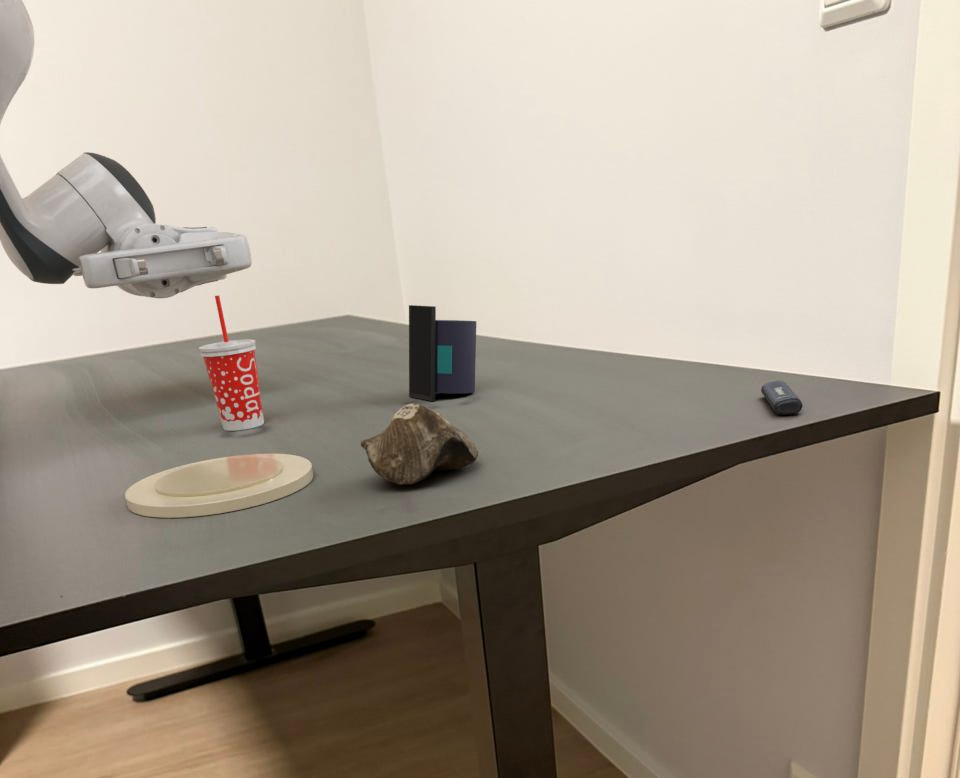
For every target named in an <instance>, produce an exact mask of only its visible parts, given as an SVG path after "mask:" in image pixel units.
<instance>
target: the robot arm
mask: <svg viewBox="0 0 960 778" xmlns="http://www.w3.org/2000/svg"><path fill="white" fill-rule="evenodd" d="M34 52H35V30H34V26H33V22H32V19H31V17H30V14H29V13H28V9H27V7H26V5H25V3H24V2H23V0H0V125H1V124H2V121H3V120H4V119H3V118H4V116H5V114H6V112H7V111H8V108H9V106H10V104H11V102H12V100H13V99H14V97H15V96H16V94H17V92H18V91H19V89H20V88H21V86H22V85H23V83H24V82H25V80H26V78H27V75H28V73H29V71H30V69H31V65H32V61H33V57H34ZM156 219H157V218H156V213H155V208H154V205H153V203H152V201H151V200H150V198H149V196H148V195H147V193H146V192H145V190H144V189H143V187H142V186H141V184H140V183H139V182H138V180H136V178H135V176H133V175H132V174H131V173H130V171H129V170H128V169H127V168H126V167H124V166H123V165H122V164H120V163H119V162H118V161H116V160H115V159H112V158H110V157H108V156H105V155H103V154H100V153H95V152H89V151H88V152H83V153H82V154H81V155H79V156H78V157H76V158H75V159H74V160H72V161H71V162H70V163H68V164H67V165H66V166H64V167H62V169H61V170H59V171H58V172H57V173H56V174H55V175H53V176H52V177H51V178H49V179H48V180H47V181H45V182H43V184H41V185H40V186H38V187H37V188H36V189H35V190H34V191H32V192H31V193H29V194H28V195H27V196H25V197H23V198H22V196H21V193H20V192H19V190H18V188H17V185H16V183H15V182H14V179H13V177H12V176H11V174H10V172H9V170H8V168H7V166H6V163H5V161H4V160H3V157H2V155H1V154H0V243H1V246H2V248H3V250H4V252H5V254H6V255H7V257H8V259H9V260H10V261H11V263H12V264H13V265H14V266H15V267H16V268H17V269H18V271H20V273H22V274H23V275H24V276H26V278H28V279H29V280H30V281H32V282H34V283H39V284H45V285H64V284H65V283H66V282H67V281H68V280H69V279H71V278H72V277H73V276H74V277H82V280H83V283H84V286H85V287H86V288H88V289H101V288H110V287H116V288H117V287H118V289H120V290H122V291H123V292H125V293H127V294H130V295H133V296H138V297H145V298H151V299H168V298H171V297H174V296H176V295H178V294H180V293H184V292H186V291H188V290H190V289H192V288H195V287H197V286H203V285H204V284H209V283H214V282H218V281H221V280H225V279H227V275H230V274H233V273H237V272H240V271H243V270H247V269H249V268H250V267H251V266H252V264H253V263H252V262H253V261H252V254H251V253H252V252H251V249H250V245H249V241H248V238H247V236H245V234H242V233H241V234H240V233H235V232H228V231H227V232H225V231H218V228H217V227H215V226H209V227H207V226H202V227H201V226H200V227H199V226H198V227H189V226H188V227H179V226H175V225H168V224H159V223H156V221H157V220H156Z"/></svg>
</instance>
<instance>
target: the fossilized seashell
mask: <svg viewBox="0 0 960 778" xmlns="http://www.w3.org/2000/svg"><path fill="white" fill-rule="evenodd" d="M360 447H361V448H362V449H364V450H365V452H366V455H367V460H368V462H369V464H370V466H371V468H372V469H373V471H374V472H375V473H376V474H377V475H378V476H379V477H381V478H383V479H385V480H387V481H388V482H391V483H393V484H395V485H400V486H401V485H413V484H416V483H418V482H420V481H422V480H425V478H428V477H429V476H430V475H431V474H432V473H433V472H434V471H448V470H455V469H463V468H465V467H468V466H470V465H472V464H473V463H474V462H475V461H476V460H477V459H478V456H479V451H478V450H477V447H476V444H475V442H473V440H472V438H470V436H469V435H467V434H466V433H465V432H463V431H462V430H460V429H459V428H457V427H456V426H454V425H453V424H452V422H450V421H449V420H448V419H447V418H446V416H445V414H444V413H442V412H439V411H434V410H433V409H431V408H430V407H428V406H425V405H421V404H419V403H408V404H406V405H403V406H402V407H401V408H400V409H399V410H398V411H396V412H395V413H394V414H393V417H392V418H391V420H390V423H389V424H388V426H387V427H386V428H385V429H384V430H383V431H382V432H381V433H379V434H377V435H374V436H372V437H369V438H367V439H362V440H361V441H360Z"/></svg>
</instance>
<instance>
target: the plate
mask: <svg viewBox="0 0 960 778" xmlns="http://www.w3.org/2000/svg"><path fill="white" fill-rule="evenodd" d="M313 479H314V469H313V464H312V463H311V461H310V460H309V459H308V458H306V457H303V456H299V455H294V454H288V453H251V454H240V455H239V454H238V455H230V456H224V457H223V456H222V457H217V458H211V459H210V458H209V459H206V460H200V461H196V462H195V461H194V462H191V463H187V464H183V465H179V466H176V467H171V468H168V469H166V470H162V471H160V472H156V473H154V474H152V475H149V476H147V477H144V478H142V479H141V480H139V481H137V482H135V483H134V484H132V485H131V486H129V487H128V488H127V489H126V490H125V492H124V498H125V502H126V507H127V508H128V510H129V511H130V512H132V513H134V514H136V515H139V516H142V517H148V518H160V519H180V518H181V519H183V518H196V517H204V516H206V517H207V516H213V515H220V514H225V513H231V512H237V511H240V510H245V509H250V508H254V507H258V506H260V505H261V506H262V505H265V504H268V503H271V502H274V501H278V500H281V499H283V498H286V497H288V496H290V495H292V494H294V493H297V492H298V491H300V490H302V489H304V488H305V487H306V486H308V485H309V484H310V483H311V482H312V481H313Z"/></svg>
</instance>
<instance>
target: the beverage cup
mask: <svg viewBox="0 0 960 778" xmlns="http://www.w3.org/2000/svg"><path fill="white" fill-rule="evenodd" d="M214 299H215V303H216V308H217V314H218V319H219V324H220V328H221V333H222V338H223V340H222V341H219V342H214V343H207V344H205V345H202V346H199V347H198V351H199V353H200V354H199V355H200V356H201V357H202V358H203V362H204V365H205V368H206V372H207V375H208V379H209V383H210V386H211V390H212V393H213V397H214V400H215V404H216V407H217V411H218V412H217V413H218V415H219V418H220V422H221V426H222V429H223V430H224V431H228V432H231V431H232V432H233V431H234V432H235V431H245V430H250V429H254V428H259V427H261V426H263V425H264V424H265V417H264V411H263V410H264V409H263V404H262V403H263V402H262V395H261V388H260V382H259V373H258V365H257V359H256V352H255V350H256V349H257V345H256V344H257V343H256V342H257V341H256V340H255V339H230V340H229V336H228V331H227V326H226V321H225V317H224V312H223V307H222V302H221V297H220V295H214Z"/></svg>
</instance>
